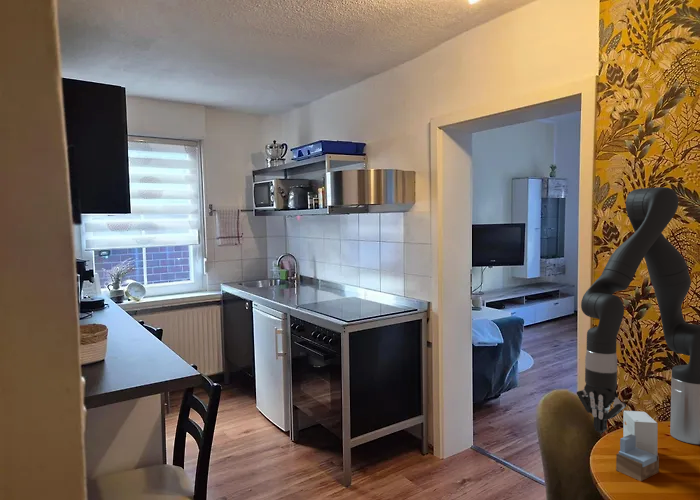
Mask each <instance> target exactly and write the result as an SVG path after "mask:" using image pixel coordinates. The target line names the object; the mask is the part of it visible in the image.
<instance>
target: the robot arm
mask: <svg viewBox="0 0 700 500" xmlns="http://www.w3.org/2000/svg"><path fill="white" fill-rule="evenodd" d="M679 202H680V201H679V197H678V194H677V192H676V191H675V190H674V189H673V188H669V187H667V186H666V187H663V186H661V187H660V186H659V187H658V186H657V187H648V188H646V187H645V188H644V187H643V188H635V189H633V190H632V191H630V192H629V193H628V195H627V196H626V199H625V209H626V214H627V217H628V219H629V222H630V224H631V226H632V229H633V231H634V233H633V234H632V235H630V236H629V238H627V239H626V240H625V241H624V242H623V243H621V244H620V245H619V246H618V247H616V249H615V250H614V251H613V253H612V254H610V255H611V256H610V257H609V259H608V261H607V263H606V265H605V267H604V268H603V271H602V273H601V275H600V276H599V277H598V278H597V279H596V280H595V281H594V282H593V283H592V284H591V285H590V287H588V289H587V290H586V291H585V293H584V294H583V296H582V298H581V302H580V308H581V311H582V313H583V314H584V315H585V316H586V317H589V318H592V319H597V320H599V321H598V325H597V326H595V327H590V328H588V330H587V332H586V350H585V351H586V352H585V359H584V363H585V364H584V372H585V373H584V382H585V385H584V387H583V389H581V390H578V391H576V395H577V397H578V398H579V400H580V402H581V405H582V406H583V407H584V409H585V411H586V413H588V414H589V413H590V415H592V417H593V428H594V431H596V432H597V433H604V432H605V431H607V429H608V420H611V419H613V418H616V416H617V415H619V413H621V412H622V411H624V409H625V408H626V407H627V404H626V403H625V402H624V401H623V402H622V401H621V400H620V399H619V398H618V397H619V396H618V395H619V394H618V393H617V386H618V358H617V357H618V355H617V338H618V334H619V332H620V328H621V325H622V322H623V318H624V315H625V306H624V302H623V301H622V299H621V298H620V297H619V296H617V295H615V293H616V292H620V291H626V290H627V289H628V288H629V286H630V284H631V283H632V281H633V279H634V277H635V275H636V273H637V271H638V268H639V267H640V265H641V263H642V261H643V259H644V260H645V263H646V264H645V265H646V268H647V272H648V275H649V279H650V282H651V285H652V288H653V291H654V295H655V298H656V301H657V304H658V305H657V306H658V309H659V312H660V313H659V314H660V319H661V324H662V332H663V336H664V337H663V338H664V340H665V343H666V346H667V347H668V349H669V350H670V351H671V352H673V353H677V354H680V355H684V356H689V362H688V364H681V365H680V364H679V365H675V366H672V368H671V381H670V384H671V386H670V387H671V389H670V393H671V394H670V429H669V430H670V431H669V432H670V433H669V434H670V436H671V437H672V438H674V439H676V440H678V441H680V442H683V443H687V444H692V445H700V325H699V324H694V323H689V322H686V321H685V319H684V318H685V317H684V314H683V308H682V305H683V302H684V301H685V300H686V299H685V298H686V297H687V295H688V293H689V290H690V289H691V284H692V279H691V275H690V271H689V268H688V265H687V262H686V260H685V258H684V257H683V254H681V252H679V250H678V249H677V248H676V247H675V246H674V245H673V244H672V243H671V242H670V241H669V240H668V239H667V237H665V235H664V234H663V232H664V230H665V229H666V228H667V226H668V224H670V222H671V221H672V219H673V218H674V217H675V215H676V213H677V210H678V208H679ZM611 405H612V406H613V408H611ZM610 408H611V410H610Z"/></svg>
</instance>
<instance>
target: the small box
mask: <svg viewBox="0 0 700 500" xmlns="http://www.w3.org/2000/svg"><path fill="white" fill-rule="evenodd" d="M622 420H623V429H622V430H623V433H622V435H623V437H625V436H628V435H630V434H632V435H634V436H636V447H637V448H640V449H642V450H645V451H647V452H650V453H653V454H655V455H658V433H659V432H658V430H659V429H658V427H659V426H658V425H659V424H658V421H656V420H655V419H653V417H651V416H650V415H649V414H648V413H647V412H646V411H637V410H623V419H622ZM623 437H622V438H623Z"/></svg>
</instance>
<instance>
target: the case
mask: <svg viewBox="0 0 700 500" xmlns="http://www.w3.org/2000/svg"><path fill="white" fill-rule="evenodd" d="M639 449H640V448H639ZM644 451H645V450H644ZM649 453H650V452H649ZM652 454H653V453H652ZM659 460H660V456H659V455H658V454H657V461H655V462H653V463H651V464H649V465H647V466H645V467H642V463H639V462H637V461H634V460H632V459H630V458H627V457H625V456H622V455H620V454H619V453H616V461H615V462H616V463H615V465H616V466H615V467H616V468H615V470H616V472H619V473H621V474H623V475H625V476H628V477H631V478H633V479H635V480H637V481H639V482H642V481H644V480H647V479H648V478H651V477H652V476H654V475H656V474H658V473H659V471H660V470H659V469H660V463H659V462H660V461H659Z"/></svg>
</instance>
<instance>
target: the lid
mask: <svg viewBox="0 0 700 500" xmlns="http://www.w3.org/2000/svg"><path fill="white" fill-rule="evenodd" d="M619 440H620V441H619V446H620V447H619V448H620V449H619V451H618V454H620V455H622V456H625V457H627V458H630V459H632V460H634V461H637V462H639V463H642V467H645V466H647V465H649V464H651V463H653V462H655V461H657V455H658V454H657V455H655V454H652V453H649V452H647V451H644V450H642V449H639V448H637V447H636V436H634V435H632V434H630V435H628V436H625V437H620V439H619Z"/></svg>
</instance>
